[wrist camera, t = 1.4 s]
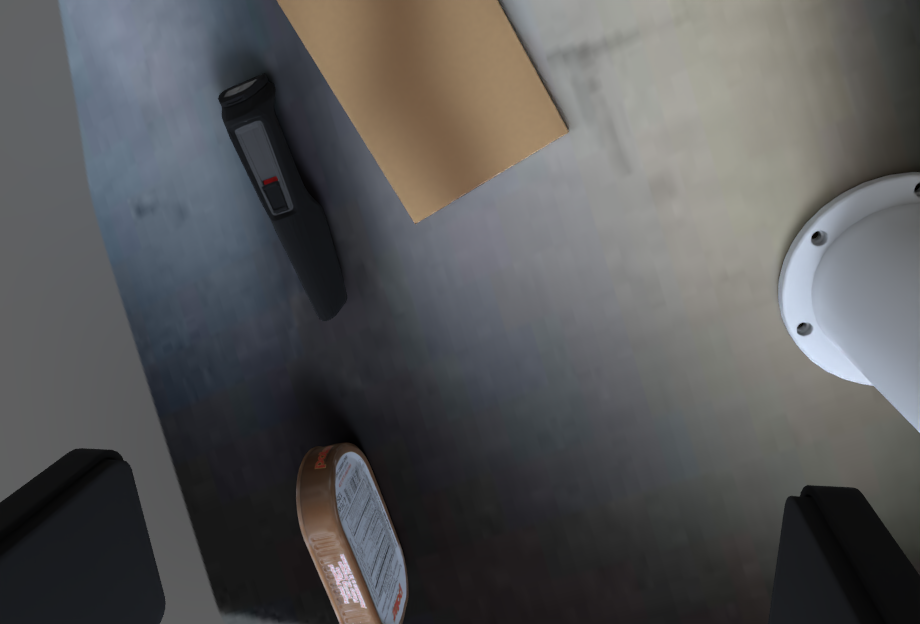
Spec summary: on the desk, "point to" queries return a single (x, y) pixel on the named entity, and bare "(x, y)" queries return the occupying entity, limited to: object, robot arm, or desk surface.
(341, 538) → the tin
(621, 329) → the desk surface
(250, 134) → the electric trimmer
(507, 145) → the wooden board
